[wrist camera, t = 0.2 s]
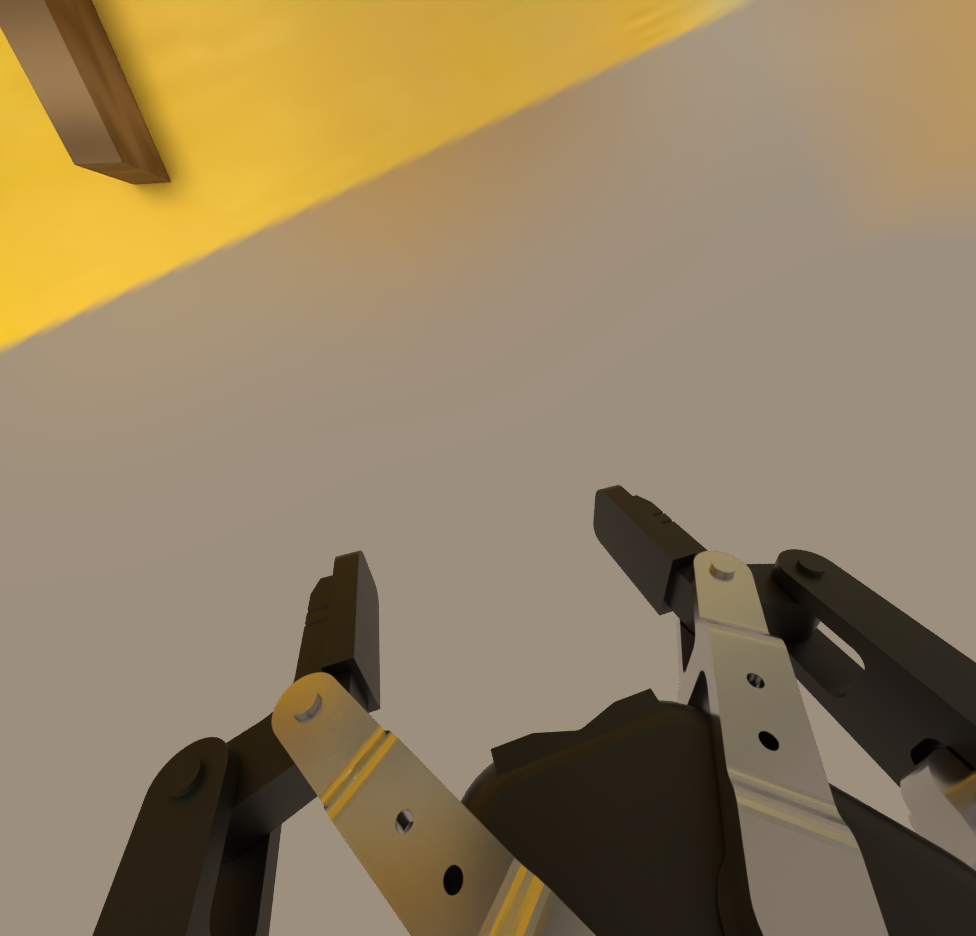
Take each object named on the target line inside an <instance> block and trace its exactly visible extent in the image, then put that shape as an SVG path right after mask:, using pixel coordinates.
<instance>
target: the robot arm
mask: <svg viewBox="0 0 976 936" xmlns="http://www.w3.org/2000/svg"><path fill="white" fill-rule="evenodd" d="M594 530H595V534H596V536H597V538H598V540H599V541H600V543H601V544H602V545H603V546H604V548H605V549H606V550H607V551H608V552H609V554H610V555H611V556H612V557H613V559H614V560H615V561H616V562H617V564H618V565H619V566H620V567H621V569H622V570H623V571H624V572H625V573H626V574H627V576H628V577H629V578H630V580H631V581H632V582H633V583H634V584H635V586H636V587H637V588H638V589H639V591H640V592H641V593H642V594H643V595H644V597H645V598H646V599H647V601H648V602H649V603H650V604H651V605H652V607H653V608H654V609H655V610H656V611H657V613H658V614H659V615H662V614H665V613H668V612H671V611H673V612H674V613H675V614H676V615H677V616H678V619H677V644H678V664H679V690H678V698H677V702H671V701H658V699H657V698H656V696H655V695H654V693H653V691H652V690H651V689H648V690H645V691H642V692H640V693H638V694H635V695H632V696H629V697H627V698H624V699H621V700H619V701H616V702H614V703H613V704H611V705H610V706H609V707H608V708H606V709H605V710H604V711H603V712H602V713H600V714H599V715H598V716H597V717H596V718H594V719H593V720H592V721H591V722H590V723H588V724H587V725H586V726H585V727H583V728H582V729H580V730H577V731H562V732H545V733H532V734H529V735H527V736H524V737H522V738H519V739H516V740H514V741H511V742H509V743H506V744H503V745H501V746H498V747H495V748H493V749H491V752H492V757H493V761H494V762H493V763H492V764H491V765H489V766H488V767H487V768H486V769H485V770H484V771H483V772H482V773H481V774H480V775H479V776H478V777H477V778H476V779H475V780H474V782H473V783H472V784H471V786H470V787H469V788H468V790H467V791H466V793H465V795H464V797H463V799H462V800H461V802H460V801H459V800H458V799H457V798H456V797H455V796H454V795H453V794H452V793H451V792H450V791H449V790H448V789H447V788H446V787H445V786H444V785H443V783H441V781H440V780H439V779H438V778H437V777H436V776H435V775H434V774H433V773H432V772H431V771H430V770H429V769H428V768H427V767H426V766H425V765H424V764H423V763H422V762H421V761H420V760H419V759H418V758H417V757H416V756H415V755H414V754H413V753H412V752H411V751H410V750H409V749H408V748H407V747H406V746H405V745H404V744H403V743H402V742H401V741H400V740H399V739H398V738H397V737H396V736H395V735H394V734H393V733H392V732H390V731H389V730H388V731H385V730H384V729H383V728H382V727H381V726H380V725H379V724H378V723H377V722H376V721H375V720H374V719H373V718H372V717H371V716H370V715H369V714H368V713H369V712H372V711H375V710H378V709H380V669H379V668H380V664H379V603H378V594H377V589H376V585H375V582H374V580H373V577H372V575H371V572H370V570H369V567H368V564H367V562H366V559H365V557H364V554H363V552H362V551H357V552H353V553H349V554H345V555H341V556H337V557H336V558H335V562H334V569H333V575H332V576H328V577H324V578H321V579H320V580H319V582H318V583H317V585H316V587H315V588H314V590H313V592H312V593H311V596H310V601H309V606H308V613H307V616H306V622H305V624H306V626H305V627H304V632H303V638H302V643H301V648H300V653H299V659H298V664H297V669H296V674H295V679H294V682H293V684H292V685H291V686H290V687H289V688H288V689H287V690H286V691H285V692H284V693H283V695H282V696H281V698H280V699H279V701H278V702H277V704H276V706H275V708H274V711H273V712H272V713H271V714H270V715H269V716H267V717H266V718H265V719H263V720H262V721H260V722H259V723H257V724H256V725H254V726H252V727H251V728H249V729H248V730H246V731H245V732H243V733H241V734H240V735H238V736H237V737H235V738H233V739H232V740H230V741H229V742H227V743H225V742H224V741H223V740H222V739H219V738H217V737H209V738H204V739H200V740H198V741H196V742H194V743H192V744H190V745H188V746H187V747H185V748H184V749H182V750H181V751H180V752H179V753H177V754H176V755H175V756H174V757H173V758H172V759H171V760H169V762H168V763H167V764H166V765H165V766H164V767H163V768H162V769H161V771H160V772H159V773H158V775H157V776H156V777H155V779H154V780H153V782H152V784H151V786H150V787H149V789H148V792H147V794H146V796H145V799H144V801H143V804H142V807H141V809H140V812H139V815H138V817H137V820H136V822H135V825H134V828H133V830H132V833H131V836H130V838H129V841H128V844H127V846H126V849H125V851H124V854H123V857H122V859H121V862H120V865H119V867H118V870H117V873H116V875H115V878H114V881H113V883H112V886H111V888H110V891H109V894H108V896H107V899H106V902H105V904H104V907H103V909H102V912H101V915H100V918H99V920H98V922H97V925H96V928H95V930H94V933H93V936H269V927H270V919H271V910H272V902H273V893H274V884H275V876H276V867H277V859H278V851H279V842H280V833H281V825H282V823H283V822H285V821H286V820H287V819H288V818H290V817H291V816H292V815H294V814H295V813H296V812H297V811H299V810H300V809H301V808H303V807H304V806H305V805H307V804H308V803H309V802H310V801H312V800H313V799H314V798H315V797H317V796H318V797H319V798H320V800H321V801H322V803H323V805H324V808H325V811H326V812H327V814H328V816H329V817H330V819H331V820H332V822H333V823H334V825H335V826H336V828H337V829H338V830H339V832H340V833H341V835H342V836H343V838H344V839H345V840H346V842H347V843H348V845H349V846H350V848H351V849H352V851H353V852H354V854H355V855H356V856H357V858H358V859H359V861H360V862H361V864H362V865H363V867H364V868H365V870H366V871H367V872H368V874H369V875H370V877H371V878H372V880H373V881H374V883H375V884H376V886H377V887H378V888H379V890H380V891H381V893H382V894H383V896H384V897H385V899H386V900H387V901H388V903H389V904H390V906H391V907H392V909H393V910H394V912H395V913H396V914H397V916H398V918H399V919H400V920H401V922H402V923H403V925H404V926H405V928H406V929H407V931H408V932H409V933H410V935H411V936H976V663H975V662H974V661H972V660H971V659H970V658H968V657H967V656H965V655H964V654H962V653H961V652H960V651H958V650H957V649H955V648H954V647H952V646H951V645H950V644H948V643H947V642H945V641H944V640H943V639H941V638H940V637H938V636H937V635H935V634H934V633H933V632H931V631H930V630H928V629H927V628H925V627H924V626H922V625H921V624H920V623H918V622H917V621H915V620H914V619H912V618H911V617H910V616H908V615H907V614H905V613H904V612H902V611H901V610H900V609H898V608H897V607H895V606H894V605H892V604H891V603H890V602H888V601H887V600H885V599H884V598H882V597H881V596H879V595H878V594H877V593H875V592H874V591H872V590H871V589H870V588H868V587H867V586H865V585H864V584H862V583H861V582H860V581H858V580H856V579H855V578H854V577H852V576H851V575H849V574H848V573H847V572H845V571H844V570H842V569H841V568H839V567H838V566H837V565H835V564H834V563H832V562H831V561H829V560H828V559H826V558H824V557H822V556H820V555H817V554H815V553H812V552H808V551H803V550H796V549H795V550H793V549H792V550H786V551H783V552H782V553H780V554H779V556H778V558H777V560H776V562H775V564H745V563H743V562H742V561H741V560H740V559H738V558H736V557H734V556H732V555H730V554H727V553H724V552H719V551H708V550H706V549H705V548H704V547H703V546H702V545H701V544H699V543H698V542H697V541H696V540H695V539H694V538H692V537H691V536H690V535H689V534H688V533H687V532H686V531H684V530H683V529H682V528H681V527H680V526H679V525H677V524H676V523H675V522H672V520H671V519H670V518H669V517H668V516H667V515H666V514H663V513H662V511H661V510H660V509H659V508H658V507H656V506H655V505H654V504H653V503H652V502H650V501H648V500H646V499H643V498H641V497H639V496H637V495H636V496H632V495H631V494H629V493H628V492H627V491H626V490H625V489H624V488H623V487H622V486H619V485H616V486H612V487H608V488H604V489H600V490H598V491H597V492H596V496H595V510H594ZM820 621H821V622H822V623H824V624H825V625H826V626H827V627H828V628H830V629H831V630H832V631H833V632H834V633H835V634H836V635H838V636H839V637H840V638H841V639H842V640H843V641H845V642H846V643H847V644H848V645H849V646H851V647H852V648H853V649H854V650H855V651H856V652H857V653H858V654H859V655H860V657H861V659H862V660H863V663H864V665H865V670H864V669H863V668H862V667H860V666H859V665H858V664H857V663H856V662H855V661H854V660H852V659H851V658H850V657H849V656H848V655H847V654H846V653H845V652H843V651H842V650H841V649H840V648H839V647H838V646H837V645H835V644H834V643H833V642H832V641H831V640H830V639H829V638H828V637H826V636H825V635H824V634H823V633H822V632H821V631H820V630H818V629H817V626H818V624H819V623H820ZM796 678H797V679H798V680H799V682H800V683H801V684H802V685H803V686H804V687H805V688H806V689H807V690H808V691H809V692H810V693H811V694H812V695H813V696H814V697H815V698H816V699H817V701H819V703H820V704H821V705H822V706H823V707H824V708H825V709H826V710H827V711H828V712H829V713H830V714H831V715H832V716H833V717H834V718H835V719H836V721H837V722H839V724H840V725H841V726H842V727H843V728H844V729H845V730H846V731H847V732H848V733H849V734H850V735H851V736H852V737H853V738H854V740H855V741H856V742H857V743H858V744H859V745H860V746H861V747H862V748H863V749H864V750H865V751H866V752H867V753H868V754H869V755H870V756H871V757H872V758H873V760H874V761H876V763H877V764H878V765H879V766H880V767H881V768H882V769H883V770H884V771H885V772H886V773H887V774H888V775H889V776H890V777H891V778H892V780H893V781H894V782H895V783H896V784H897V785H898V786H899V787H900V788H901V793H902V796H903V798H904V801H905V803H906V805H907V807H908V808H909V810H910V811H911V812H910V814H909V821H910V823H911V825H912V827H913V828H914V830H915V831H916V832H917V833H915V832H913V831H911V830H910V829H908V828H906V827H904V826H903V825H901V824H899V823H898V822H896V821H894V820H892V819H890V818H889V817H887V816H885V815H884V814H882V813H880V812H878V811H877V810H875V809H873V808H872V807H870V806H868V805H866V804H864V803H863V802H861V801H859V800H858V799H856V798H854V797H852V796H851V795H849V794H847V793H845V792H843V791H842V790H840V789H838V788H837V787H835V786H833V785H832V784H830V783H828V780H827V777H826V774H825V771H824V768H823V764H822V761H821V758H820V755H819V751H818V748H817V745H816V742H815V739H814V736H813V732H812V729H811V726H810V722H809V719H808V716H807V713H806V710H805V706H804V703H803V700H802V697H801V693H800V690H799V687H798V684H797V681H796Z"/></svg>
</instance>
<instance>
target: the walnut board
mask: <svg viewBox="0 0 976 936" xmlns="http://www.w3.org/2000/svg"><path fill="white" fill-rule="evenodd" d="M0 27H1V29H2V31H3V33H4V35H5V36H6V38H7V40H8V42H9V44H10V46H11V48H12V49H13V51H14V53H15V55H16V57H17V59H18V61H19V62H20V64H21V66H22V68H23V70H24V72H25V74H26V75H27V77H28V79H29V81H30V83H31V85H32V87H33V88H34V90H35V92H36V94H37V96H38V98H39V100H40V101H41V103H42V105H43V107H44V109H45V111H46V113H47V114H48V116H49V118H50V120H51V122H52V124H53V126H54V127H55V129H56V131H57V133H58V135H59V137H60V139H61V140H62V142H63V144H64V146H65V148H66V150H67V152H68V153H69V155H70V157H71V159H72V161H73V163H74V165H77V166H80V167H83V168H86V169H89V170H92V171H95V172H98V173H101V174H104V175H107V176H110V177H113V178H116V179H119V180H122V181H125V182H128V183H131V184H146V183H162V182H171V181H170V179H169V177H168V174H167V172H166V170H165V167H164V165H163V163H162V161H161V158H160V156H159V154H158V151H157V149H156V147H155V145H154V142H153V140H152V138H151V136H150V133H149V131H148V129H147V126H146V124H145V122H144V120H143V117H142V115H141V113H140V110H139V108H138V106H137V104H136V101H135V99H134V97H133V95H132V92H131V90H130V88H129V85H128V83H127V81H126V79H125V76H124V74H123V72H122V69H121V67H120V65H119V63H118V60H117V58H116V56H115V53H114V51H113V49H112V47H111V44H110V42H109V40H108V38H107V35H106V33H105V31H104V28H103V26H102V24H101V22H100V19H99V17H98V15H97V12H96V10H95V8H94V6H93V3H92V1H91V0H0Z"/></svg>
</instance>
